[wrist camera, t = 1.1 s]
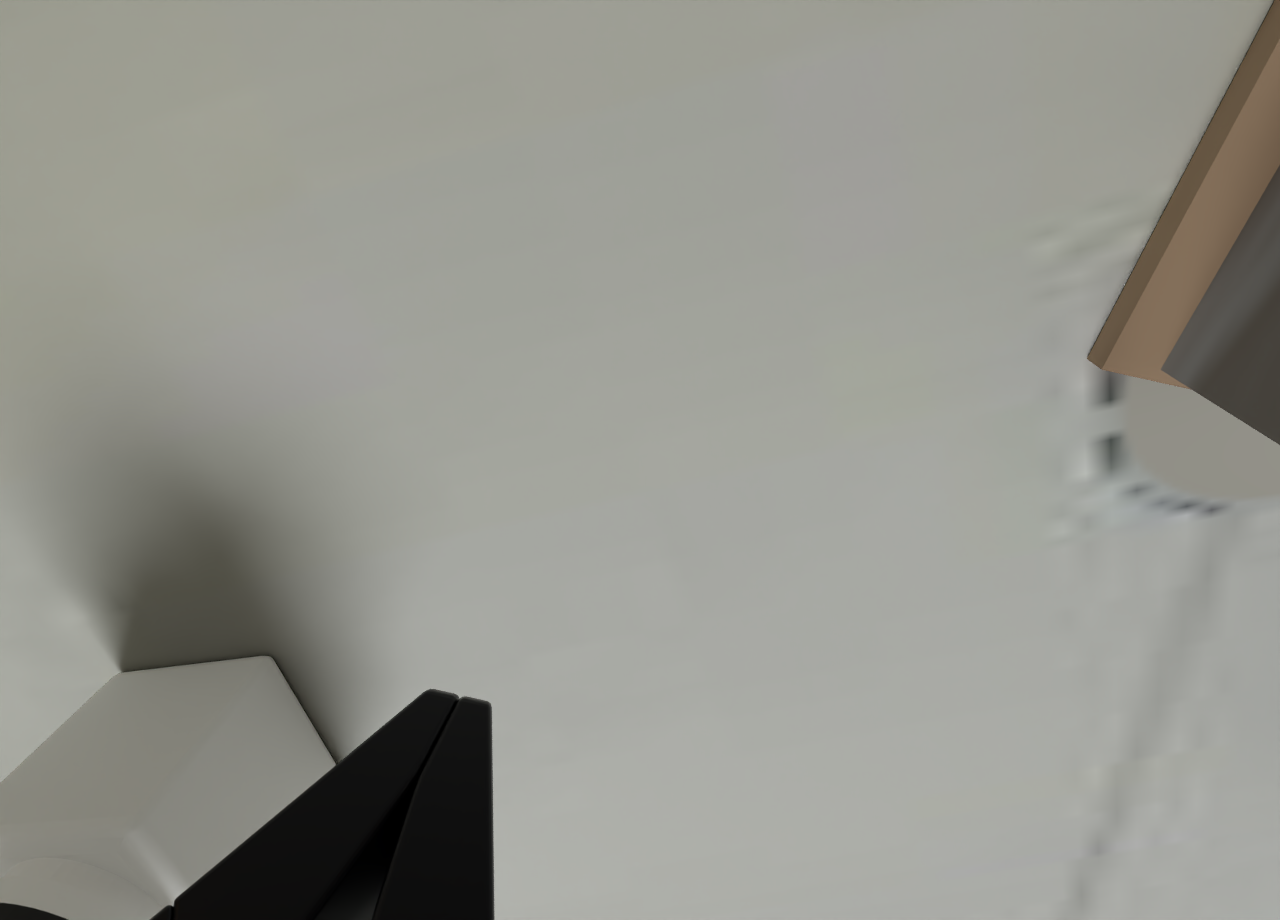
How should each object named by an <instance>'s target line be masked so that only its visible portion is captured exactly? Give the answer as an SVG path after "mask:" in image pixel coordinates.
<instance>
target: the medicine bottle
mask: <svg viewBox="0 0 1280 920" xmlns="http://www.w3.org/2000/svg"><path fill="white" fill-rule="evenodd" d="M334 766H336V763H335V762H334V760H333V758H332V757H331V755H330V753H329V752H328V750H327V748H326V747H325V745H324V743H323V742H322V740H321V738H320V736H319V735H318V733H317V731H316V730H315V728H314V726H313V725H312V723H311V721H310V720H309V718H308V716H307V715H306V713H305V711H304V710H303V708H302V706H301V705H300V703H299V701H298V700H297V698H296V696H295V695H294V693H293V691H292V690H291V688H290V686H289V685H288V683H287V681H286V680H285V678H284V676H283V675H282V673H281V671H280V670H279V668H278V666H277V665H276V663H275V661H274V660H273V658H272V657H270V656H257V657H248V658H240V659H232V660H223V661H215V662H206V663H198V664H190V665H181V666H173V667H165V668H156V669H148V670H140V671H131V672H123V673H119V674H117V675H115V676H113V677H112V678H111V679H110V680H109V681H108V682H107V683H106V684H105V685H104V686H103V687H102V688H101V689H100V690H98V691H97V692H96V693H95V694H94V695H93V696H92V697H91V698H90V699H89V700H88V701H87V702H86V703H85V704H84V705H83V706H82V707H80V708H79V709H78V710H77V711H76V712H75V713H74V714H73V715H72V716H71V717H70V718H69V719H68V720H67V721H66V722H65V723H64V724H62V725H61V726H60V727H59V728H58V729H57V730H56V731H55V732H54V733H53V734H52V735H51V736H50V737H49V738H48V739H47V740H46V741H44V742H43V743H42V744H41V745H40V746H39V747H38V748H37V749H36V750H35V751H34V752H33V753H32V754H31V755H30V756H29V757H28V758H26V759H25V760H24V761H23V762H22V763H21V764H20V765H19V766H18V767H17V768H16V769H15V770H14V771H13V772H12V773H11V774H10V775H8V776H7V777H6V778H5V779H4V780H3V781H2V782H1V783H0V920H150V919H151V918H152V917H153V916H154V915H156V914H157V913H158V912H159V911H160V910H162V909H163V908H164V907H165V906H167V905H172V906H174V900H175V899H176V898H177V897H178V896H179V895H180V894H181V893H183V892H184V891H185V890H186V889H187V888H189V887H190V886H191V885H192V884H194V883H195V882H196V881H197V880H198V879H200V878H201V877H202V876H203V875H204V874H206V873H207V872H208V871H209V870H210V869H212V868H213V867H214V866H215V865H216V864H218V863H219V862H220V861H221V860H222V859H224V858H225V857H226V856H227V855H228V854H230V853H231V852H232V851H233V850H234V849H236V848H237V847H238V846H239V845H240V844H242V843H243V842H244V841H245V840H246V839H248V838H249V837H250V836H251V835H252V834H254V833H255V832H256V831H257V830H258V829H260V828H261V827H262V826H263V825H265V824H266V823H267V822H268V821H269V820H271V819H272V818H273V817H274V816H275V815H277V814H278V813H279V812H280V811H281V810H283V809H284V808H285V807H286V806H287V805H289V804H290V803H291V802H292V801H293V800H295V799H296V798H297V797H298V796H299V795H301V794H302V793H303V792H304V791H305V790H307V789H308V788H309V787H310V786H311V785H313V784H314V783H315V782H316V781H317V780H319V779H320V778H321V777H322V776H323V775H325V774H326V773H327V772H328V771H330V770H331V769H332V768H333V767H334Z"/></svg>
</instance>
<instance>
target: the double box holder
mask: <svg viewBox="0 0 1280 920" xmlns="http://www.w3.org/2000/svg"><path fill="white" fill-rule="evenodd" d="M1087 359H1088V360H1089V361H1091V362H1092V363H1093V364H1095V365H1096V366H1098V367H1099V368H1100V369H1102V370H1106V371H1111V372H1115V373H1120V374H1124V375H1129V376H1133V377H1138V378H1143V379H1147V380H1151V381H1156V382H1160V383H1165V384H1169V385H1174V386H1178V387H1183V388H1188V389H1192V390H1193V391H1195V392H1197V393H1198V394H1200V395H1201V396H1203V397H1205V398H1206V399H1208V400H1209V401H1211V402H1213V403H1214V404H1216V405H1217V406H1219V407H1221V408H1222V409H1224V410H1225V411H1227V412H1228V413H1230V414H1232V415H1233V416H1235V417H1236V418H1238V419H1240V420H1241V421H1243V422H1244V423H1246V424H1248V425H1249V426H1251V427H1252V428H1254V429H1255V430H1257V431H1259V432H1260V433H1262V434H1263V435H1265V436H1267V437H1268V438H1270V439H1271V440H1273V441H1275V442H1276V443H1278V444H1279V445H1280V0H1275V1H1274V2H1273V4H1272V6H1271V8H1270V10H1269V12H1268V14H1267V16H1266V18H1265V20H1264V22H1263V23H1262V25H1261V27H1260V29H1259V31H1258V33H1257V35H1256V37H1255V39H1254V41H1253V43H1252V44H1251V46H1250V48H1249V50H1248V52H1247V54H1246V56H1245V58H1244V60H1243V62H1242V64H1241V65H1240V67H1239V69H1238V71H1237V73H1236V75H1235V77H1234V79H1233V81H1232V83H1231V85H1230V86H1229V88H1228V90H1227V92H1226V94H1225V96H1224V98H1223V100H1222V102H1221V104H1220V106H1219V107H1218V109H1217V111H1216V113H1215V115H1214V117H1213V119H1212V121H1211V123H1210V125H1209V127H1208V128H1207V130H1206V132H1205V134H1204V136H1203V138H1202V140H1201V142H1200V144H1199V146H1198V148H1197V149H1196V151H1195V153H1194V155H1193V157H1192V159H1191V161H1190V163H1189V165H1188V167H1187V169H1186V170H1185V172H1184V174H1183V176H1182V178H1181V180H1180V182H1179V184H1178V186H1177V188H1176V190H1175V191H1174V193H1173V195H1172V197H1171V199H1170V201H1169V203H1168V205H1167V207H1166V209H1165V211H1164V212H1163V214H1162V216H1161V218H1160V220H1159V222H1158V224H1157V226H1156V228H1155V230H1154V232H1153V233H1152V235H1151V237H1150V239H1149V241H1148V243H1147V245H1146V247H1145V249H1144V251H1143V253H1142V254H1141V256H1140V258H1139V260H1138V262H1137V264H1136V266H1135V268H1134V270H1133V272H1132V274H1131V275H1130V277H1129V279H1128V281H1127V283H1126V285H1125V287H1124V289H1123V291H1122V293H1121V295H1120V296H1119V298H1118V300H1117V302H1116V304H1115V306H1114V308H1113V310H1112V312H1111V314H1110V315H1109V317H1108V319H1107V321H1106V323H1105V325H1104V327H1103V329H1102V331H1101V333H1100V335H1099V336H1098V338H1097V340H1096V342H1095V344H1094V346H1093V348H1092V350H1091V352H1090V354H1089V356H1088V357H1087Z"/></svg>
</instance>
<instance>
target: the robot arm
mask: <svg viewBox="0 0 1280 920" xmlns="http://www.w3.org/2000/svg"><path fill="white" fill-rule="evenodd" d="M150 920H494V850H493V770H492V707H491V704H490V703H489V702H488V701H484V700H480V699H475V698H471V697H461V698H460V699H459V697H458V696H457V695H456V694H453V693H449V692H444V691H440V690H436V689H429V690H427V691H425V692H423V693H422V694H421V695H420V696H419V697H417V698H416V699H415V700H414V701H413V702H411V703H410V704H409V705H408V706H407V707H405V708H404V709H403V710H402V711H401V712H399V713H398V714H397V715H396V716H394V717H393V718H392V719H391V720H390V721H388V722H387V723H386V724H385V725H384V726H382V727H381V728H380V729H379V730H378V731H376V732H375V733H374V734H373V735H372V736H370V737H369V738H368V739H367V740H366V741H364V742H363V743H362V744H361V745H360V746H358V747H357V748H356V749H355V750H354V751H352V752H351V753H350V754H349V755H348V756H346V757H345V758H344V759H343V760H342V761H340V762H339V763H338V764H337V765H336V766H334V767H333V768H332V769H331V770H330V771H328V772H327V773H326V774H325V775H323V776H322V777H321V778H320V779H319V780H317V781H316V782H315V783H314V784H313V785H311V786H310V787H309V788H308V789H307V790H305V791H304V792H303V793H302V794H301V795H299V796H298V797H297V798H296V799H295V800H293V801H292V802H291V803H290V804H289V805H287V806H286V807H285V808H284V809H283V810H281V811H280V812H279V813H278V814H277V815H275V816H274V817H273V818H272V819H271V820H269V821H268V822H267V823H266V824H265V825H263V826H262V827H261V828H260V829H258V830H257V831H256V832H255V833H254V834H252V835H251V836H250V837H249V838H248V839H246V840H245V841H244V842H243V843H242V844H240V845H239V846H238V847H237V848H236V849H234V850H233V851H232V852H231V853H230V854H228V855H227V856H226V857H225V858H224V859H222V860H221V861H220V862H219V863H218V864H216V865H215V866H214V867H213V868H212V869H210V870H209V871H208V872H207V873H206V874H204V875H203V876H202V877H201V878H200V879H198V880H197V881H196V882H195V883H194V884H192V885H191V886H190V887H189V888H187V889H186V890H185V891H184V892H183V893H181V894H180V895H179V896H178V897H177V898H176V899H175V900H174V906H172V905H167V906H165V907H164V908H163V909H162V910H160V911H159V912H158V913H157V914H156V915H154V916H153V917H152V918H151V919H150Z"/></svg>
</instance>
